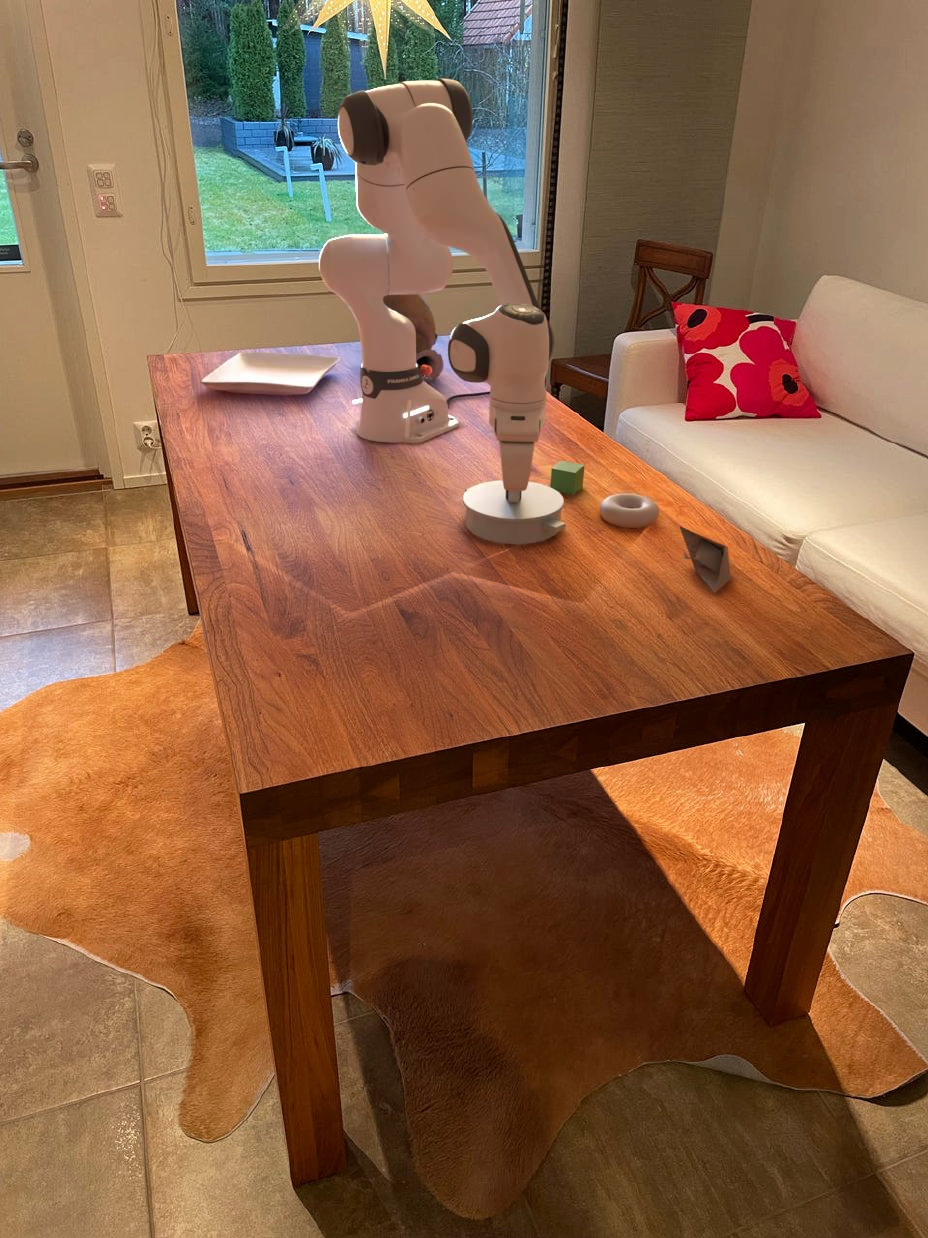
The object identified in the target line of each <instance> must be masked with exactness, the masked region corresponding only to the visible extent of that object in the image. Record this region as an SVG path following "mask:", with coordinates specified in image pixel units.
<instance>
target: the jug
mask: <svg viewBox="0 0 928 1238" xmlns="http://www.w3.org/2000/svg"><path fill="white" fill-rule="evenodd" d="M383 302H384V304H385V305H386V306H387V307H388V308H389V309H391V310H393V311H395V312H397V313H399V314H401V315H403V316H405V317H406V318H408V319H409V320H410V321H411V322H412V324H413V325H414V327H415V331H416V363H417V364H419V365H420V366H422V365H424V364H425V365H427V366H431V368H432V370H433V371H432V373H430V374H431V375H430V376H427V375H425V374H421V375H422V376H425V377H426V378H427V379H430V380H432V381H433V380H436V379H437V378H438V377H439V376H440V374H441V373H442V372H443V371H444V364H445V363H444V359H443V355H442V354H441V353H438V352H437V351H436V350H434V349H432V348H433V346H435V345H436V343H437V341H438V337H439V336H438V334H437V332H436V331H437V330H436V321H435V317H434V315H433V311H432V310H431V307H430V306H429V304H428V303H427V301H426V300H425V299H424V298H423V296H422V294H415V295H386V296H384V297H383Z"/></svg>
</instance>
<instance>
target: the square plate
mask: <svg viewBox="0 0 928 1238" xmlns="http://www.w3.org/2000/svg"><path fill="white" fill-rule="evenodd" d="M340 361H341V357H339V356H328V355H327V356H326V355H319V354H318V355H317V354H305V353H287V352H237V353H236V354H234V356H232V357H231V358H229V359H228V360H226V361H225V362H224V363H222V364H221V365H219V366H218V367H217V368H215V369H214V370H213V371H211V372H210V373H208V374H207V375H206V376H204V377H203V378H202V379H201V380H200V384H202V385H203V386H205V387H207V388H209V389H211V390H214V391H225V392H228V393H236V394H251V395H256V394H257V395H272V396H300V395H307V394H308V393H310V392H311V391H312V390H313V389H314V388H315V387H316V386H317V384H318V383H319V382H320V380H322V379H323V378H324V377H325V376H326V375H327V374H329V373H330V372H331V371H332V370H333V369H334V367H335V366H336V365H337V363H339V362H340Z"/></svg>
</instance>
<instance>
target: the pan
mask: <svg viewBox="0 0 928 1238" xmlns="http://www.w3.org/2000/svg"><path fill="white" fill-rule="evenodd" d="M470 488H471V487H468V488H465V490H464V491H465V492H466V491H467V490H468V489H470ZM465 492H464V493H465ZM561 520H562V510H561V511H560V512H558V513H557V514H555V515H553V516H551V517H549V518H546V519H542V520H537V521H530V522H505V521H497V520H492V519H487V518H484V517H481V516H478V515H476V514H474V513H472V512H471V511H469V510H468V509H467V508H466V507H465V527H466V529H467V530H468V531H469V532H471V534H473V535H475V536H476V537H479V538H481V539H483V540H486V541H490V542H493V543H498V544H510V545H511V544H512V545H528V544H534V543H535V544H536V543H539V542H543V541H546V540H548V539H551V538H552V537H554V536H555V535H557V534H558V533H559V532H561V531H564V530H566V525H567V524H566V522H563V521H561Z"/></svg>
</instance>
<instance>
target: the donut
mask: <svg viewBox="0 0 928 1238" xmlns="http://www.w3.org/2000/svg"><path fill="white" fill-rule="evenodd" d="M599 514H600V517H602V519H603V521H605V522H607V523H608V524H610V525H612V526H615V527H620V528H625V529H642V528H647V527H649V526H652V525H653V524H654V523H655V522H656V521H657V520H658V519H659V516H660V508H659V506H658V504H657V503H656V502H655V501H654V500H653V499H652V498H649V497H647V496H645V495H641V494H638V493H630V492H628V493H616V494H612V495H609V496H607V497H605V499H604V500H602V502H601V503H600V507H599Z"/></svg>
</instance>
